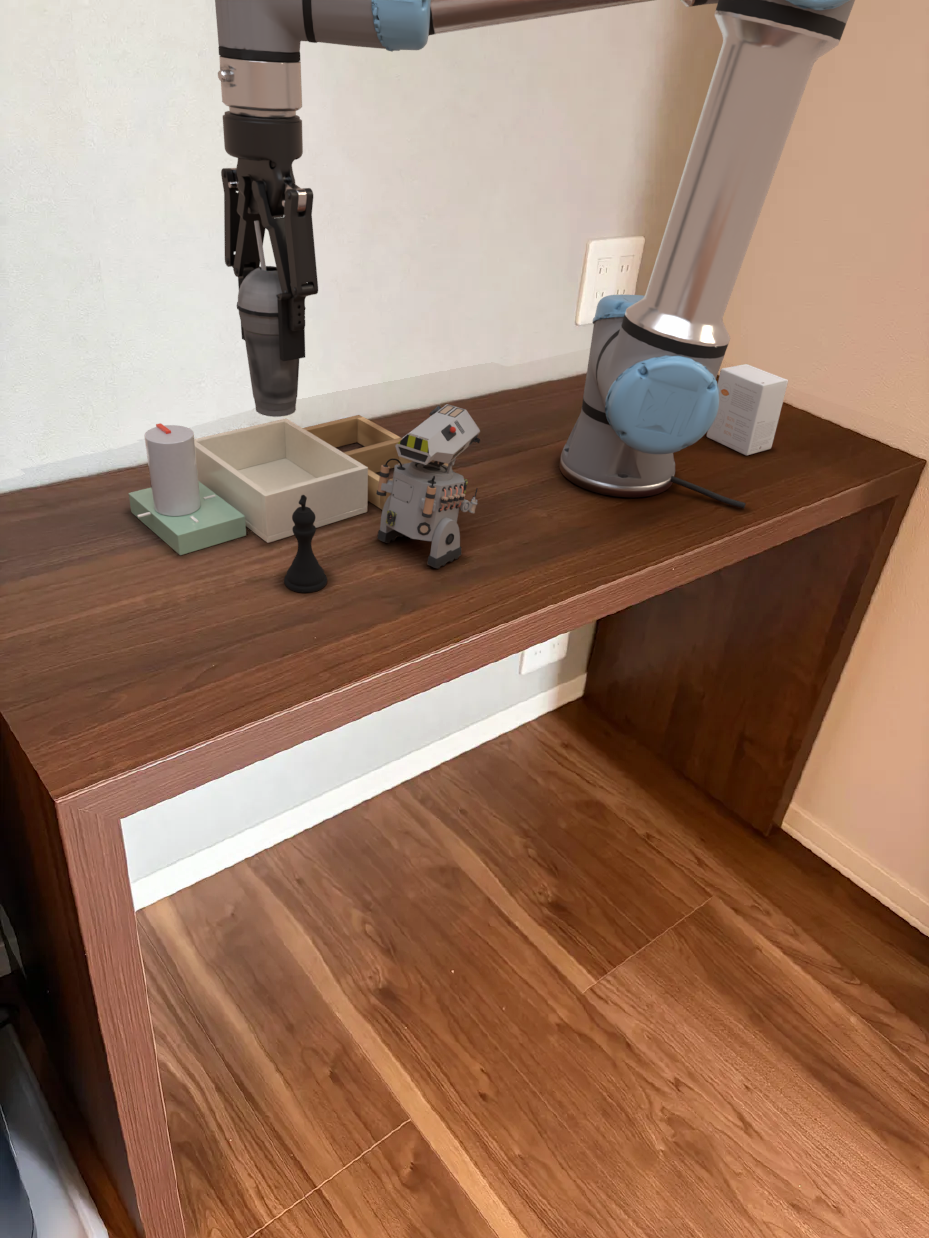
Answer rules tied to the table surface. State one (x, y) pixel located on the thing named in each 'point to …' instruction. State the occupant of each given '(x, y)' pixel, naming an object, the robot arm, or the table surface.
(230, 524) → the green dial base plate
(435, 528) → the figurine
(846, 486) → the table surface
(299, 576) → the chess piece
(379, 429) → the wooden compartment tray
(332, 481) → the cream open storage tray
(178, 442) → the tap knob
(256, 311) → the beverage cup
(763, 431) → the small box
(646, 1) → the robot arm
